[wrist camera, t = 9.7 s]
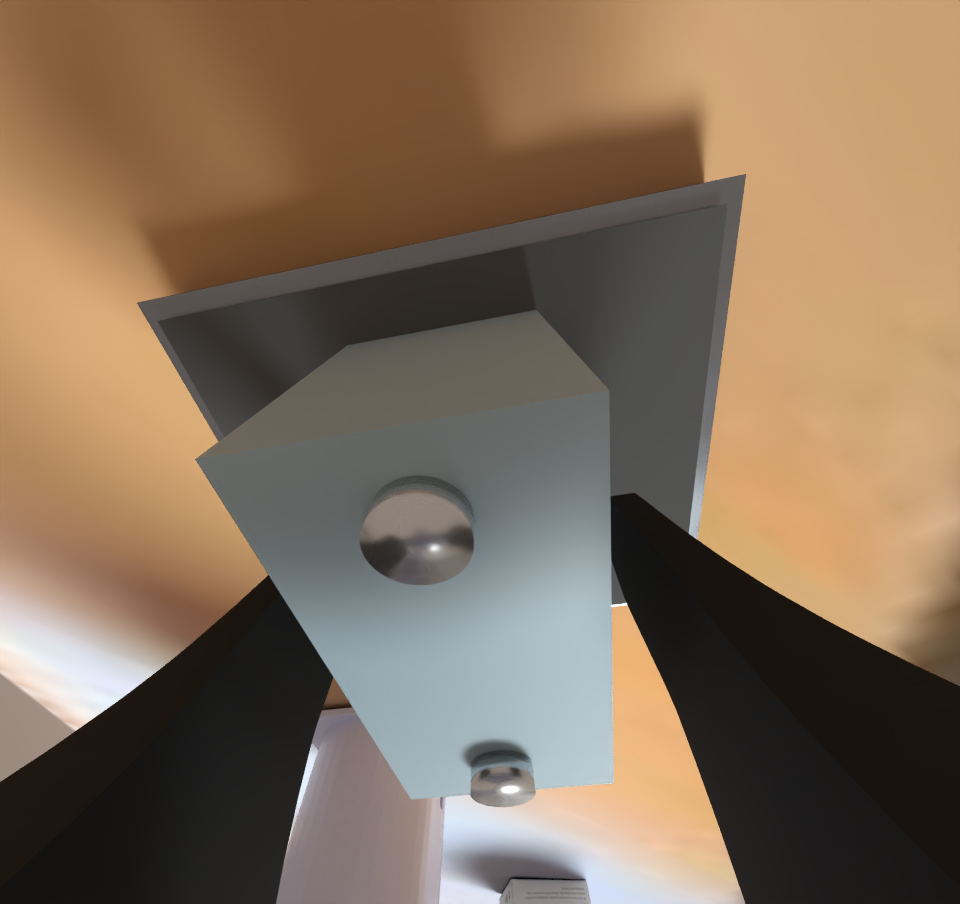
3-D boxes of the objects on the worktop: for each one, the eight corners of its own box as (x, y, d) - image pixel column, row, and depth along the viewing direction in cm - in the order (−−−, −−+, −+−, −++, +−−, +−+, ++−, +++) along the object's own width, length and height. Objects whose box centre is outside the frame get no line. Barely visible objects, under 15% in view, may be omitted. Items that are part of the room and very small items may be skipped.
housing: (563, 584, 14) (620, 810, 8) (435, 600, 15) (407, 827, 9) (536, 309, 9) (625, 406, 4) (347, 345, 10) (165, 481, 4)
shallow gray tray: (670, 565, 16) (693, 603, 15) (347, 606, 18) (332, 646, 16) (705, 185, 10) (754, 171, 8) (183, 295, 11) (127, 304, 9)
